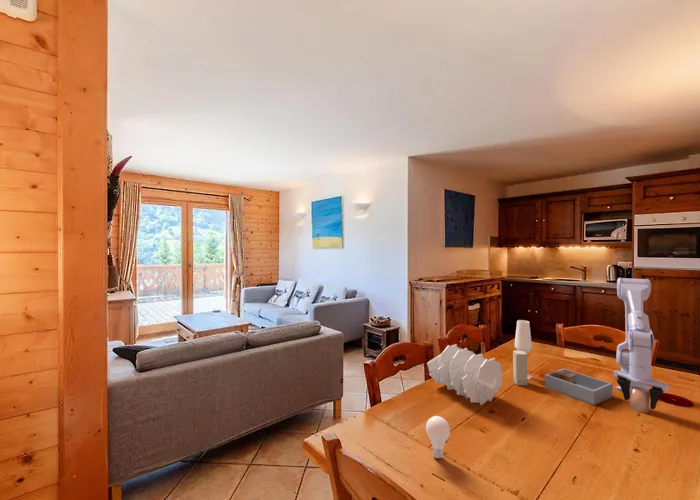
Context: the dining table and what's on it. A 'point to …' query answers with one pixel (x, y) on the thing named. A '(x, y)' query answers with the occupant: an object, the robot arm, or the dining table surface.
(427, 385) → the dining table surface
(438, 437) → the lightbulb
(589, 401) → the tote
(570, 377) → the walnut cube
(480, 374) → the spiral staircase
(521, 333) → the champagne flute
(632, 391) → the peach capsule
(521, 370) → the box
